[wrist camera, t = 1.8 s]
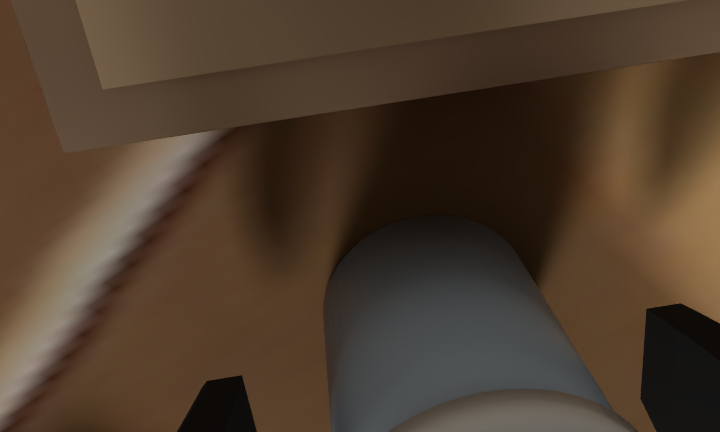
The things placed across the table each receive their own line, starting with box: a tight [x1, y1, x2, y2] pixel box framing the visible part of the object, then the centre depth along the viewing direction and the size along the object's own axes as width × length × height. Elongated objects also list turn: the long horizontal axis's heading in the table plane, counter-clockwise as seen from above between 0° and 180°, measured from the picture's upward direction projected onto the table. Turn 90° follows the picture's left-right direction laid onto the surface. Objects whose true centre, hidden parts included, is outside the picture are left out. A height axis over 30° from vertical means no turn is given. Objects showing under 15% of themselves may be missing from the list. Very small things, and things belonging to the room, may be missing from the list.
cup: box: [323, 215, 638, 432], centre depth 12 cm, size 5×5×6 cm
